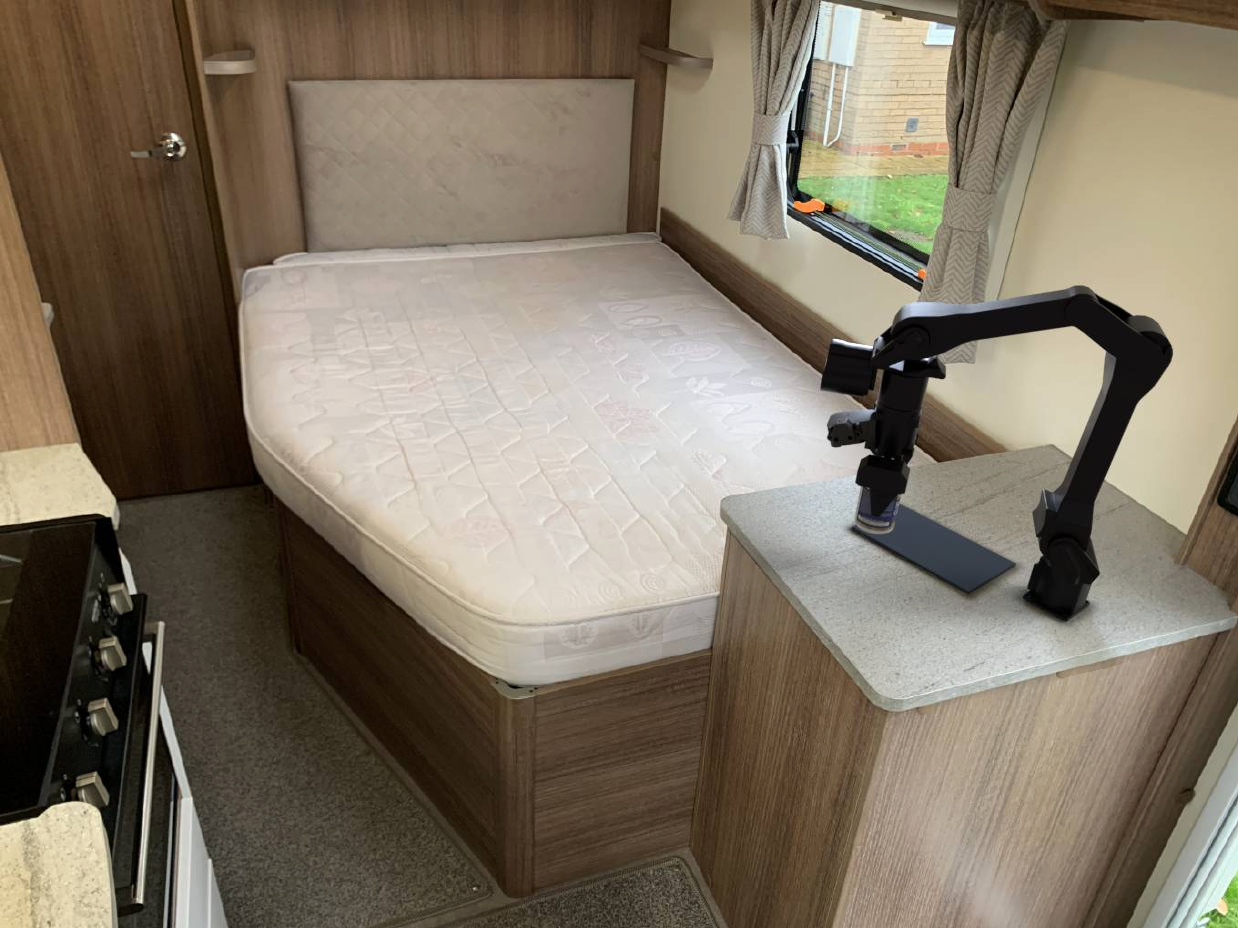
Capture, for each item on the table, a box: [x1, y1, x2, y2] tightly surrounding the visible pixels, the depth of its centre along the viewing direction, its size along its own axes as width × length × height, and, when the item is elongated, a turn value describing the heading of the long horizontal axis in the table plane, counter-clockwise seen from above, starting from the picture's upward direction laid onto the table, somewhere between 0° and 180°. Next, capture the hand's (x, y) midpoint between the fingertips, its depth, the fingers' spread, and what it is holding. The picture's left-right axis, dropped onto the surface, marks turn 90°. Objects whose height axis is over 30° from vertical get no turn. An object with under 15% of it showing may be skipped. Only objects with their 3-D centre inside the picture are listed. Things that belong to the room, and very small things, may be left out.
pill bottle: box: [854, 458, 902, 534], centre depth 129 cm, size 5×5×10 cm
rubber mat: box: [851, 503, 1017, 595], centre depth 139 cm, size 20×12×1 cm, turn 39°
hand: (877, 506), depth 130 cm, fingers closed on pill bottle, 5 cm apart
